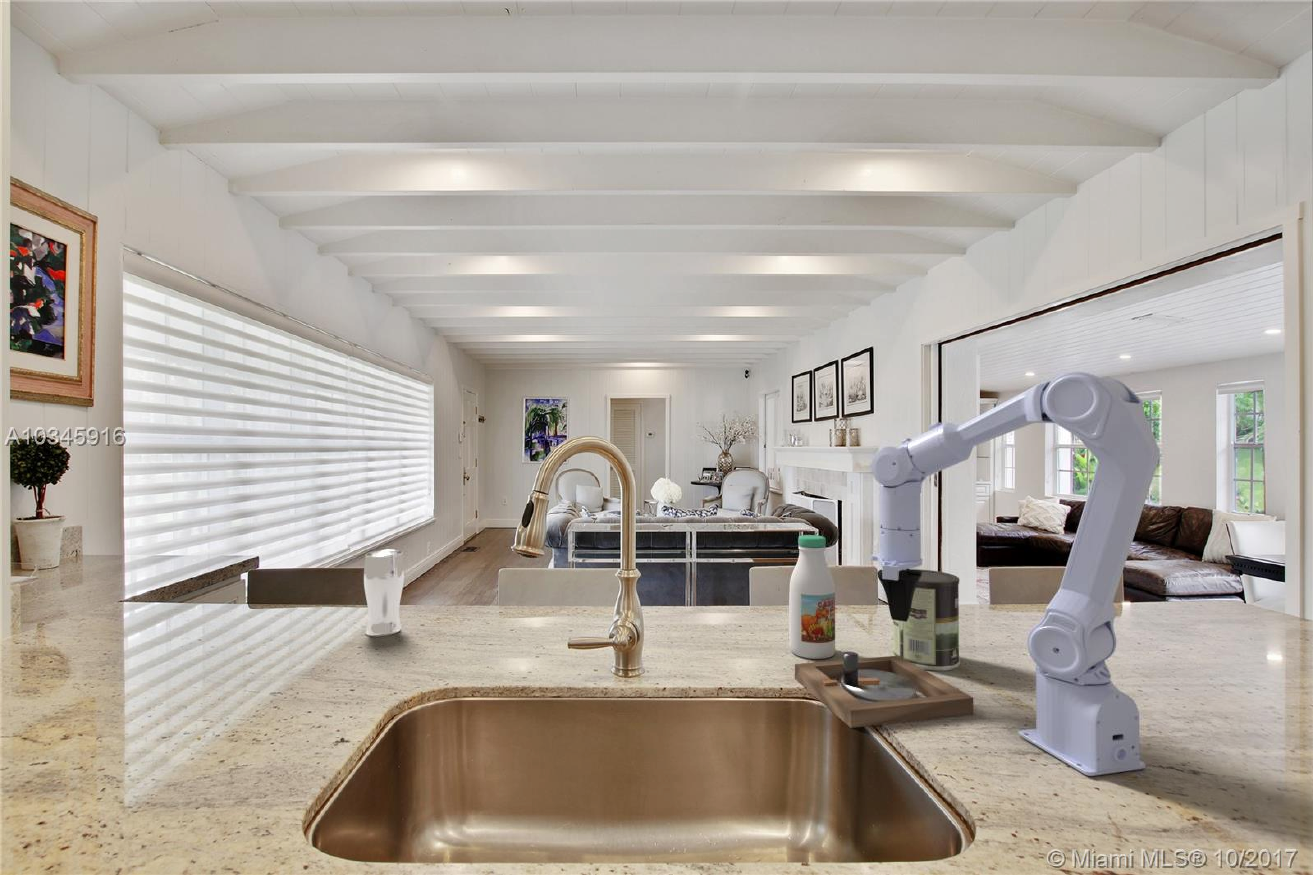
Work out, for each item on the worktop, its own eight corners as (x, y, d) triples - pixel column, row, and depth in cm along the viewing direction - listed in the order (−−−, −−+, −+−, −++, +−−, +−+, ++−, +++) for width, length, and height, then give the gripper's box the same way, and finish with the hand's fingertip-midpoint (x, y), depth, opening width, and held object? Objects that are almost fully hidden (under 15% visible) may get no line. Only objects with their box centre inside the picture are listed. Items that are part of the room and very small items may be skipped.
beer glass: (363, 628, 113) (364, 551, 113) (403, 624, 116) (403, 548, 116) (362, 639, 107) (363, 557, 107) (404, 634, 110) (404, 554, 110)
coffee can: (949, 651, 102) (949, 570, 102) (968, 673, 92) (968, 583, 92) (886, 647, 104) (886, 567, 104) (898, 668, 94) (898, 580, 94)
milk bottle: (783, 655, 99) (783, 537, 100) (795, 642, 106) (795, 532, 106) (830, 663, 96) (830, 541, 96) (839, 649, 103) (839, 535, 103)
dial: (893, 678, 89) (893, 640, 89) (930, 708, 79) (930, 665, 79) (830, 680, 88) (830, 642, 88) (859, 711, 78) (859, 667, 78)
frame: (973, 714, 78) (973, 694, 78) (850, 727, 74) (850, 707, 74) (899, 669, 93) (899, 653, 93) (794, 678, 90) (794, 661, 90)
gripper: (881, 520, 95) (882, 604, 95) (859, 531, 83) (860, 627, 83) (929, 524, 91) (929, 611, 91) (913, 536, 79) (913, 636, 79)
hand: (899, 619), depth 87 cm, fingers closed
